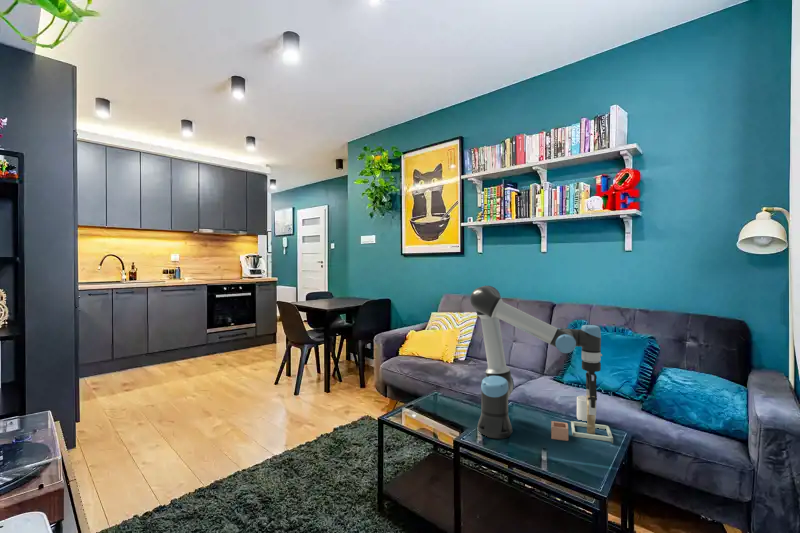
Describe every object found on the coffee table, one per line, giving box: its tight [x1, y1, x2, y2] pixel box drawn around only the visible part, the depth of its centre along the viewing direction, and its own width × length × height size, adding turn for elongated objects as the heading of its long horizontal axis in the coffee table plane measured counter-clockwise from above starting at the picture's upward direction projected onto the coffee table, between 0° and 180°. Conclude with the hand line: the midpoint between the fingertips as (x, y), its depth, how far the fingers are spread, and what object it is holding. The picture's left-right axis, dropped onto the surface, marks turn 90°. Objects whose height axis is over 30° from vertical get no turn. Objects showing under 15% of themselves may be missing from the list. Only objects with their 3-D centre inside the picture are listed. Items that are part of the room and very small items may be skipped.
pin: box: [586, 395, 596, 435], centre depth 174 cm, size 3×3×16 cm
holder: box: [550, 420, 569, 442], centre depth 170 cm, size 7×7×6 cm
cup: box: [576, 395, 597, 422], centre depth 189 cm, size 8×12×10 cm
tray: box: [570, 420, 614, 445], centre depth 174 cm, size 15×13×2 cm
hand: (591, 409), depth 174 cm, fingers open, 13 cm apart
